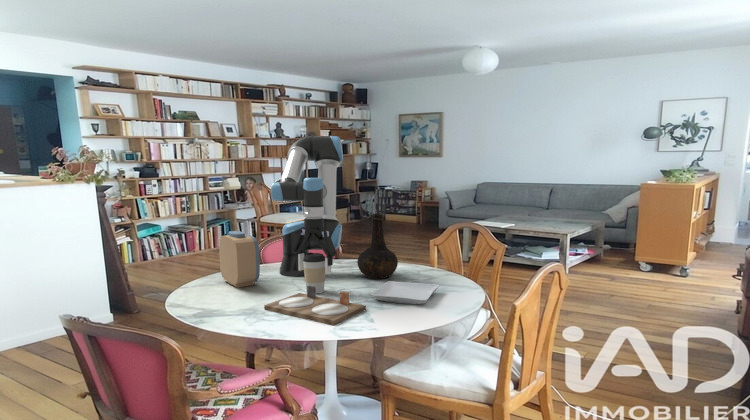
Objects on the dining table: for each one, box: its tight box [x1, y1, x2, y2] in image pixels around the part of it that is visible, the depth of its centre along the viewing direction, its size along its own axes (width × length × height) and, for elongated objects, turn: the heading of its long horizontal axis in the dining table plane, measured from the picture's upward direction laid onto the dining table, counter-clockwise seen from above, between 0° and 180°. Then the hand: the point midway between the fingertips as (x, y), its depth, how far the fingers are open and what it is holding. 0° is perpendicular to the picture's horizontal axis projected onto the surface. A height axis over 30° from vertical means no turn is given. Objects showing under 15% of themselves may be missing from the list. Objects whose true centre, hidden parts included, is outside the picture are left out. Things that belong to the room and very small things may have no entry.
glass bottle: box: [357, 213, 399, 280], centre depth 207 cm, size 18×18×28 cm
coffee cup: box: [303, 251, 327, 294], centre depth 184 cm, size 9×9×15 cm
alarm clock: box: [218, 230, 261, 288], centre depth 197 cm, size 21×10×22 cm, turn 37°
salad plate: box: [370, 280, 440, 305], centre depth 176 cm, size 21×21×3 cm
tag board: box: [263, 286, 367, 326], centre depth 161 cm, size 30×18×6 cm, turn 57°
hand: (314, 272), depth 184 cm, fingers open, 13 cm apart
